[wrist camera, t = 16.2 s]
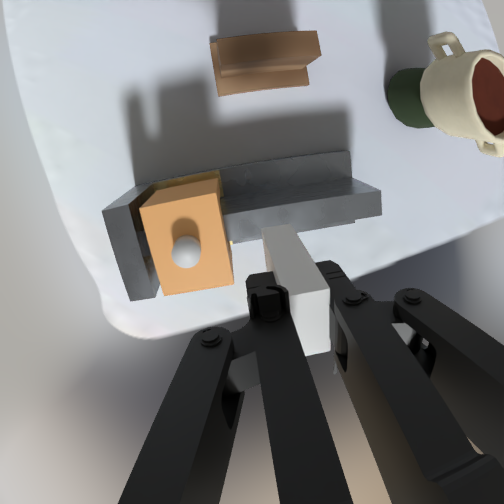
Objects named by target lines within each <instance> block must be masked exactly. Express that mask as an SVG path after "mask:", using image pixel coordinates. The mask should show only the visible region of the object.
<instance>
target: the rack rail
mask: <svg viewBox="0 0 504 504" xmlns="http://www.w3.org/2000/svg"><path fill="white" fill-rule="evenodd" d="M215 178H218V183H219V188H220V206H221V211H222V216H223V221H224V226H225V232H226V237H227V242H228V241H230V245H232V244H235V243H241V242H247V241H252V240H258V239H263V237H262V230H261V228H267V227H273V226H279V225H286V224H291V225H292V227H293V228H294V230H295V232H296V233H298V232H304V231H310V230H315V229H321V228H327V227H333V226H339V225H345V224H351V223H355V220H356V219H362V218H368V217H374V216H380V215H382V204H381V190H379V189H377V188H374V187H372V186H370V185H368V184H366V183H363V182H361V181H359V180H357V179H354V178H352V170H351V159H350V151H336V152H327V153H318V154H310V155H302V156H294V157H287V158H280V159H273V160H266V161H260V162H254V163H247V164H241V165H236V166H230V167H224V168H219V169H213V170H208V171H203V172H198V173H193V174H188V175H183V176H178V177H173V178H169V179H164V180H160V181H155V182H151V183H146V184H142V185H138V186H135V187H133V188H132V189H131V190H129V191H128V192H126V193H125V194H124V195H122V196H121V197H120V198H118V199H117V200H115V201H114V202H113V203H111V204H110V205H109V206H107V207H106V208H105V209H104V210H102V214H103V218H104V221H105V225H106V228H107V232H108V235H109V238H110V242H111V245H112V248H113V251H114V255H115V258H116V261H117V264H118V267H119V270H120V273H121V276H122V279H123V282H124V285H125V288H126V290H127V293H128V296H129V299H130V301H136V300H143V299H149V298H155V297H156V294H157V291H158V288H159V285H160V281H159V278H158V274H157V271H156V268H155V264H154V261H153V258H152V254H151V251H150V247H149V243H148V240H147V236H146V232H145V229H144V225H143V221H142V217H141V213H140V209H139V208H140V207H141V206H142V205H143V204H144V203H145V202H146V201H147V200H148V199H149V198H150V197H151V196H152V195H153V194H154V193H155V192H156V191H157V190H161V189H165V188H170V187H175V186H179V185H184V184H189V183H194V182H199V181H204V180H210V179H215Z"/></svg>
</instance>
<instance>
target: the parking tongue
mask: <svg viewBox="0 0 504 504" xmlns="http://www.w3.org/2000/svg"><path fill="white" fill-rule="evenodd" d="M210 49H211V56H212V62H213V68H214V74H215V80H216V86H217V91H218V97H220V96H226V95H232V94H239V93H245V92H253V91H260V90H268V89H277V88H287V87H299V86H307V85H309V78H308V73H307V67H306V66H307V65H308V64H310V63H311V62H312V61H314V60H315V59H317V58H318V57H320V56H321V50H320V45H319V40H318V35H317V31H289V32H274V33H262V34H252V35H243V36H236V37H228V38H222V39H217V42H215V43H210Z"/></svg>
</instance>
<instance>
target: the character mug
mask: <svg viewBox="0 0 504 504" xmlns="http://www.w3.org/2000/svg"><path fill="white" fill-rule="evenodd" d="M427 42H428V45H429V47H430V49H431V51H432V52H433V54H434V56H435V57H436V59H435V60H434V61H433V62H432V63H431V64H430V65H429V66H428V67H427V68H410V69H404V70H401V71H398V72H397V73H396V74H395V75H394V77H393V78H392V79H391V81H390V84H389V88H388V91H387V94H388V102H389V107H390V109H391V110H392V112H393V114H394V115H395V117H396V118H397V119H398V120H399V121H401V122H402V123H403V124H405V125H406V126H409V127H414V128H429V127H436V128H438V129H439V130H441V131H443V132H444V133H446V134H448V135H450V136H455V137H462V138H468V139H474V140H475V141H476V143H477V146H478V148H479V150H480V152H482V153H484V154H487V155H491V156H495V157H504V57H503V56H502V55H501V54H499V53H496V52H494V51H492V50H479V51H473V52H465V51H464V49H463V47H462V45H461V43H460V42H459V40H458V38H457V37H456V36H455V34H454V33H451V32H443V33H440V34H436V35H433V36H430V37H429V38H428V41H427ZM447 44H448V45H449V47H450V49H451V50H452V52H453V55H449V56H447V55H446V53H445V52H444V50H443V48H442V46H443V45H447ZM487 142H491V143H493V144H494V145H493V144H488V143H487Z"/></svg>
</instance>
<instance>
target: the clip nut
mask: <svg viewBox="0 0 504 504" xmlns="http://www.w3.org/2000/svg"><path fill="white" fill-rule="evenodd" d="M139 209H140V213H141V217H142V221H143V225H144V229H145V232H146V236H147V240H148V243H149V247H150V251H151V254H152V258H153V261H154V264H155V268H156V271H157V274H158V278H159V281H160V284H161V288H162V291H163V294H164V296H168V295H174V294H180V293H186V292H192V291H198V290H204V289H210V288H216V287H222V286H227V285H233V284H234V276H233V264H232V251H231V246H230V241H228V242H227V237H226V232H225V226H224V221H223V216H222V211H221V206H220V188H219V183H218V178H215V179H210V180H204V181H199V182H194V183H189V184H184V185H179V186H175V187H170V188H165V189H161V190H157V191H156V192H155V193H154V194H153V195H152V196H151V197H150V198H149V199H148V200H147V201H146V202H145V203H144V204H143V205H142V206H141V207H140V208H139Z"/></svg>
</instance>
